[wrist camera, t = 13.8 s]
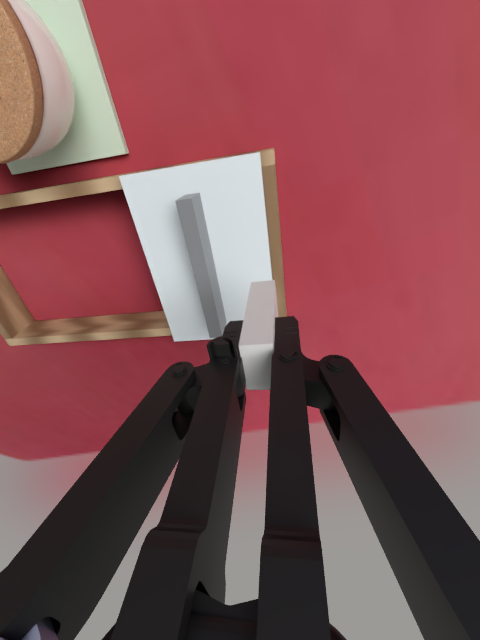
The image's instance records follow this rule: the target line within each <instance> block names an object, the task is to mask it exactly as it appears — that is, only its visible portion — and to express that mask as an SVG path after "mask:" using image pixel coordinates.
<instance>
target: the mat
mask: <svg viewBox="0 0 480 640" xmlns="http://www.w3.org/2000/svg"><path fill="white" fill-rule="evenodd" d="M25 1H26V2H27V3H28V4H29V5H30V6H31V7H32V8H33V9H34V10H35V11H36V13H37V14H38V15H39V16H40V17H41V19H42V20H43V21H44V23H45V24H46V26H47V27H48V28H49V30H50V31H51V33H52V34H53V36H54V37H55V39H56V41H57V42H58V44H59V46H60V48H61V50H62V52H63V54H64V57H65V59H66V61H67V64H68V67H69V70H70V73H71V76H72V81H73V86H74V94H75V110H74V116H73V121H72V124H71V126H70V129H69V131H68V132H67V134H66V136H65V137H64V138H63V139H62V141H61V142H60V143H59V144H58V145H57V146H55V147H54V148H53V149H51V150H49V151H48V152H46V153H44V154H41V155H38V156H36V157H32V158H29V159H23V160H16V161H12V162H9V163H6V164H7V166H8V168H9V170H10V172H11V174H12V175H14V174H20V173H26V172H31V171H36V170H42V169H47V168H53V167H58V166H63V165H69V164H74V163H80V162H85V161H91V160H96V159H101V158H107V157H112V156H118V155H123V154H128V153H129V151H128V148H127V145H126V142H125V138H124V135H123V132H122V129H121V126H120V122H119V119H118V116H117V113H116V109H115V106H114V103H113V100H112V96H111V93H110V90H109V87H108V83H107V80H106V77H105V74H104V70H103V67H102V64H101V61H100V57H99V54H98V51H97V48H96V44H95V41H94V38H93V35H92V31H91V28H90V25H89V22H88V18H87V15H86V12H85V9H84V5H83V2H82V0H25Z"/></svg>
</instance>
